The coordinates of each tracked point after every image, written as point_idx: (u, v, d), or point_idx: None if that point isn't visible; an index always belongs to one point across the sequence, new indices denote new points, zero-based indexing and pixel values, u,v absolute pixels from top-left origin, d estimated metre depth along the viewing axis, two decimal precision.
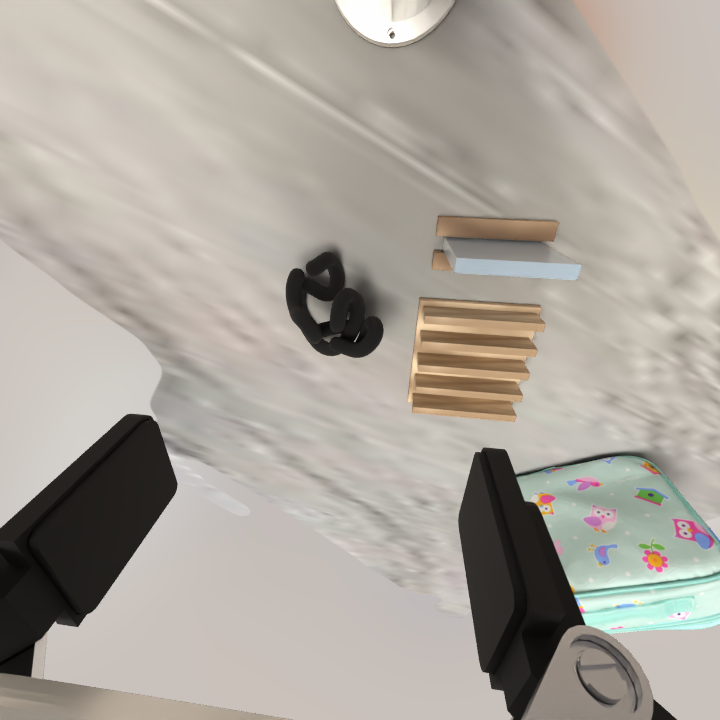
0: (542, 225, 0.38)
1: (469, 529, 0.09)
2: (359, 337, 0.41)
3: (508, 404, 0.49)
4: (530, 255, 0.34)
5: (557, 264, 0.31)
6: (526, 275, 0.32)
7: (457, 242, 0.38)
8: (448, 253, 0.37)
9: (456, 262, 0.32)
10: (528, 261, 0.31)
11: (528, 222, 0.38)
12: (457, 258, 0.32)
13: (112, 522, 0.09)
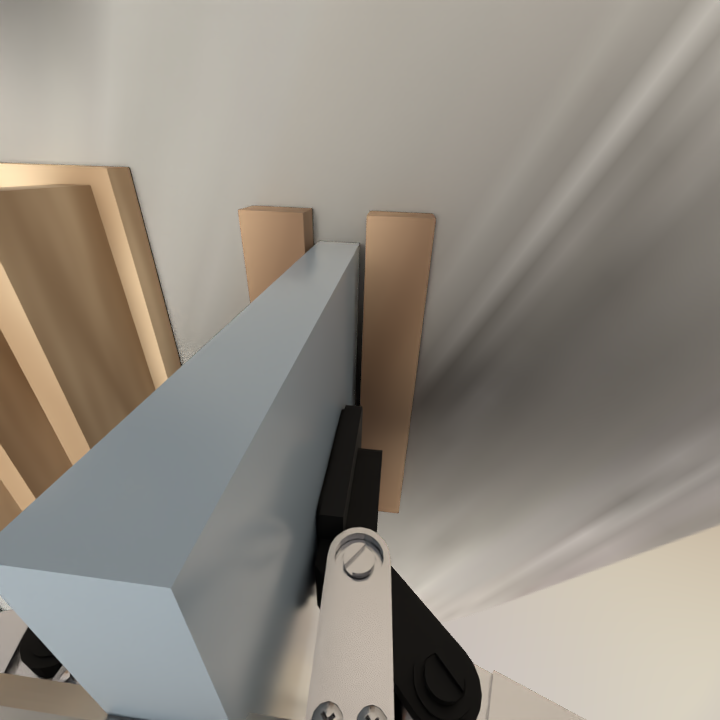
0: (393, 488, 0.16)
1: None
2: None
3: None
4: (313, 633, 0.08)
5: None
6: None
7: (344, 310, 0.09)
8: (290, 296, 0.07)
9: (117, 576, 0.02)
10: None
11: (401, 463, 0.15)
12: (171, 585, 0.02)
13: None
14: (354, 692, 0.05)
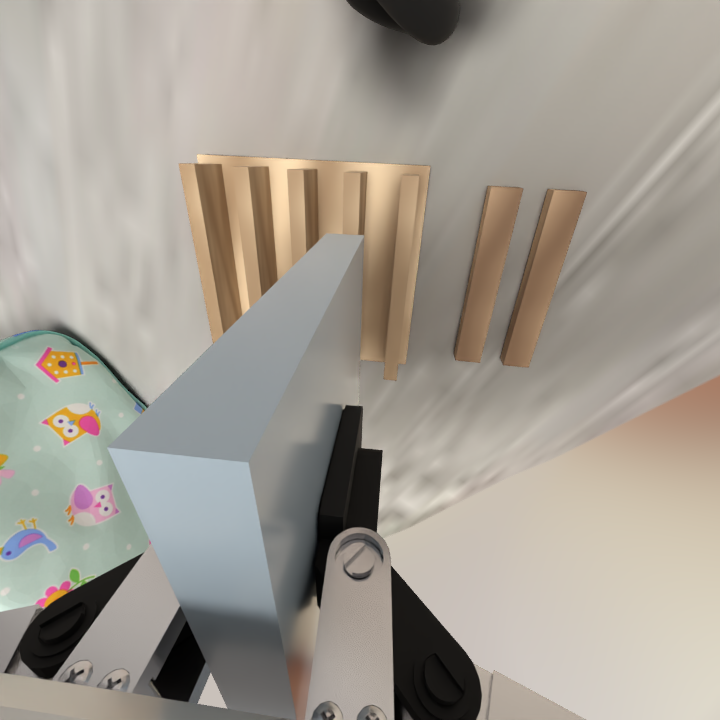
0: (529, 349, 0.28)
1: None
2: None
3: None
4: None
5: None
6: (231, 699, 0.07)
7: (351, 295, 0.10)
8: (306, 280, 0.08)
9: (209, 458, 0.03)
10: (297, 691, 0.07)
11: (538, 331, 0.27)
12: (246, 464, 0.03)
13: None
14: (354, 692, 0.05)
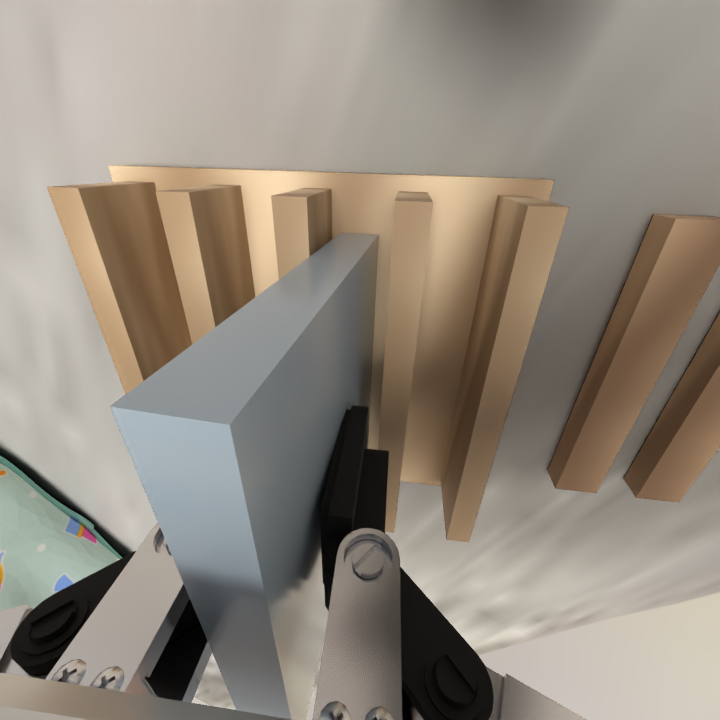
0: (687, 478, 0.17)
1: None
2: None
3: None
4: None
5: None
6: (224, 667, 0.07)
7: (361, 291, 0.11)
8: (314, 274, 0.08)
9: (196, 421, 0.04)
10: (286, 665, 0.07)
11: (710, 455, 0.16)
12: (228, 427, 0.04)
13: None
14: (362, 694, 0.05)
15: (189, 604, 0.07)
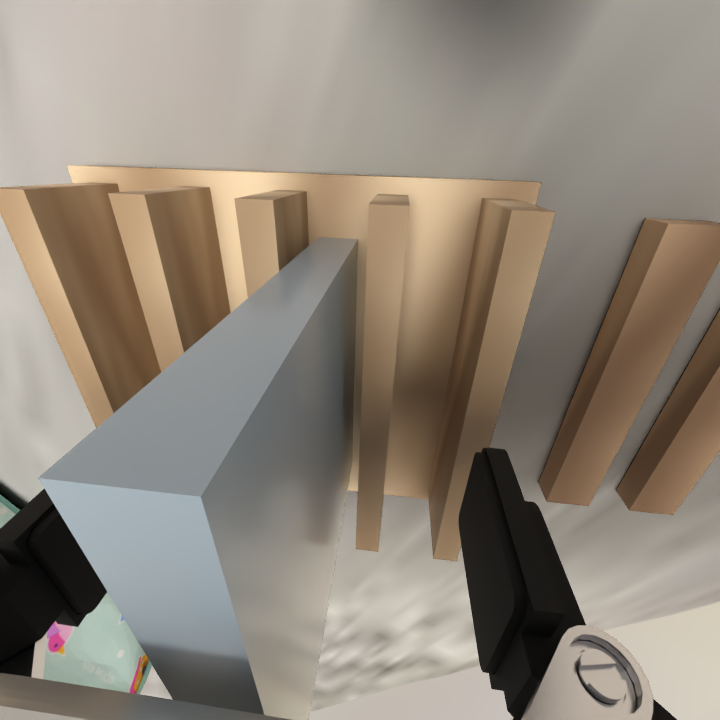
0: (681, 490, 0.16)
1: (469, 529, 0.09)
2: None
3: None
4: (313, 602, 0.09)
5: None
6: None
7: (343, 301, 0.10)
8: (293, 285, 0.07)
9: (156, 491, 0.03)
10: None
11: (704, 467, 0.15)
12: (200, 498, 0.03)
13: None
14: None
15: None
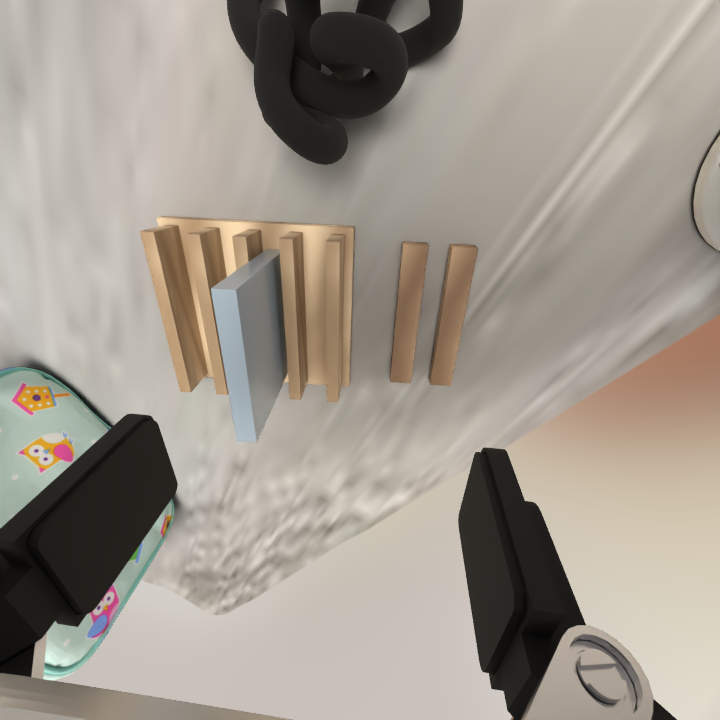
0: (449, 371, 0.33)
1: (469, 529, 0.09)
2: None
3: (203, 374, 0.34)
4: (263, 378, 0.25)
5: (252, 418, 0.23)
6: (230, 388, 0.22)
7: (274, 273, 0.26)
8: (253, 265, 0.24)
9: (228, 290, 0.19)
10: (250, 386, 0.22)
11: (455, 356, 0.32)
12: (235, 291, 0.19)
13: (112, 522, 0.09)
14: None
15: None
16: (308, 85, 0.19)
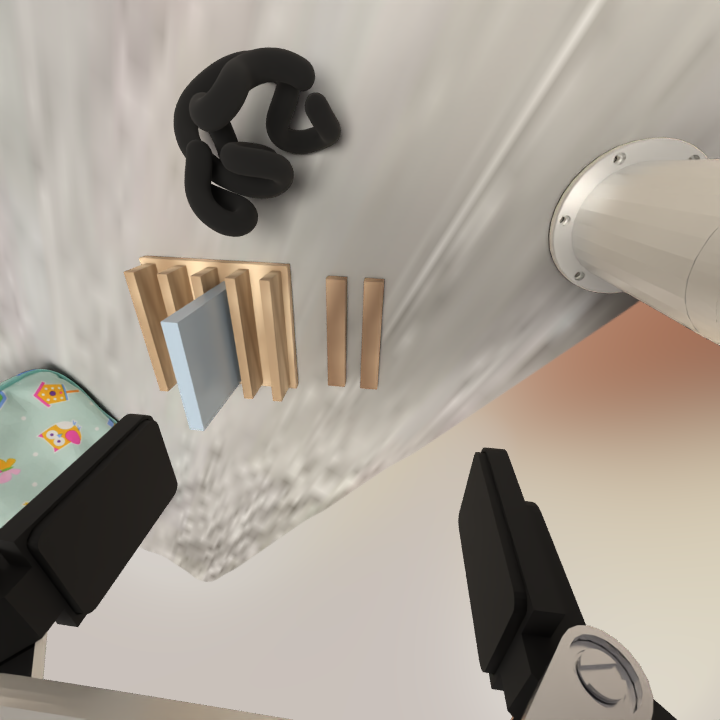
0: (374, 377, 0.41)
1: (469, 529, 0.09)
2: (220, 191, 0.27)
3: None
4: (211, 382, 0.33)
5: (198, 413, 0.32)
6: (180, 390, 0.31)
7: (223, 302, 0.34)
8: (202, 299, 0.32)
9: (172, 323, 0.27)
10: (195, 389, 0.31)
11: (377, 366, 0.40)
12: (177, 323, 0.27)
13: (112, 522, 0.09)
14: None
15: None
16: (228, 180, 0.26)
